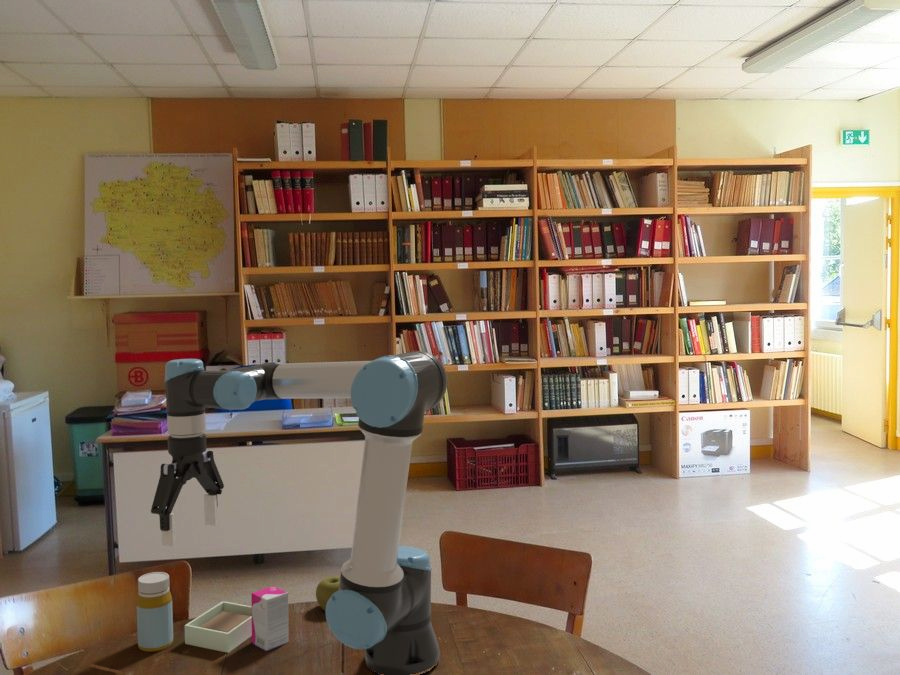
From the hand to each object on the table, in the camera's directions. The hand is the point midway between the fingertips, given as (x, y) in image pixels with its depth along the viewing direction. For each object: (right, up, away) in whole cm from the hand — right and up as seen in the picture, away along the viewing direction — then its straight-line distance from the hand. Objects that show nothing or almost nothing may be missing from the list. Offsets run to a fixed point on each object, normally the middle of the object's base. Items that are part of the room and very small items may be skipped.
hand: (190, 534), depth 164 cm
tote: (+5, -24, +7) cm, 25 cm away
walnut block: (+5, -23, +7) cm, 25 cm away
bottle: (-8, -25, +3) cm, 26 cm away
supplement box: (+16, -24, +4) cm, 29 cm away
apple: (+27, -23, +21) cm, 41 cm away
